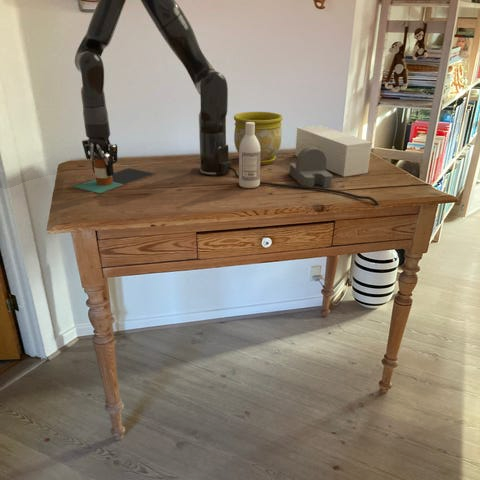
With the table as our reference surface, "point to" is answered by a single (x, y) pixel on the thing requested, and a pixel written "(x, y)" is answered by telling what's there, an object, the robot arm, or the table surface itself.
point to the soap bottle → (101, 171)
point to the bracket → (311, 168)
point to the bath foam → (249, 158)
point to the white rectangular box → (336, 149)
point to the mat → (114, 180)
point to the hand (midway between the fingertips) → (103, 174)
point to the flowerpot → (261, 132)
